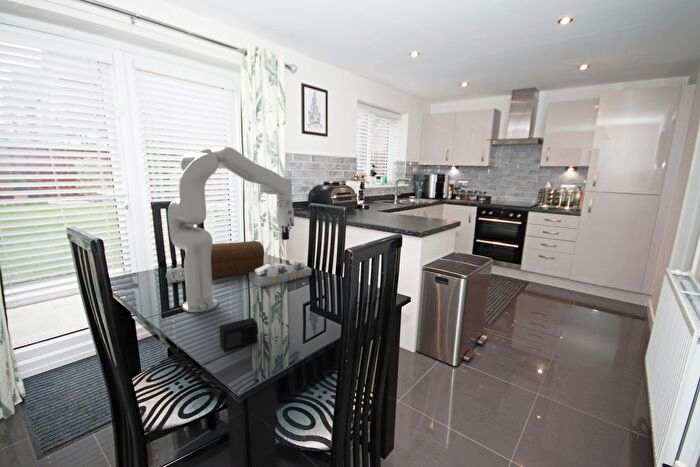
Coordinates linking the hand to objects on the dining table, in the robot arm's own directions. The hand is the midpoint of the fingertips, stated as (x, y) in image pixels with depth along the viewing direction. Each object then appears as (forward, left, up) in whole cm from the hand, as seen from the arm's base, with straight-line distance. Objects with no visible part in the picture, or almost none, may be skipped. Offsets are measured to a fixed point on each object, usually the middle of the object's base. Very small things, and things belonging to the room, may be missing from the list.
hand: (285, 239), depth 161 cm
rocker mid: (0, +3, -14) cm, 14 cm away
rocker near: (0, +12, -14) cm, 19 cm away
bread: (+24, +19, -20) cm, 36 cm away
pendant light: (+25, +45, -20) cm, 55 cm away
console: (0, +3, -20) cm, 20 cm away
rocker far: (0, -7, -14) cm, 15 cm away
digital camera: (-50, +44, -20) cm, 70 cm away
